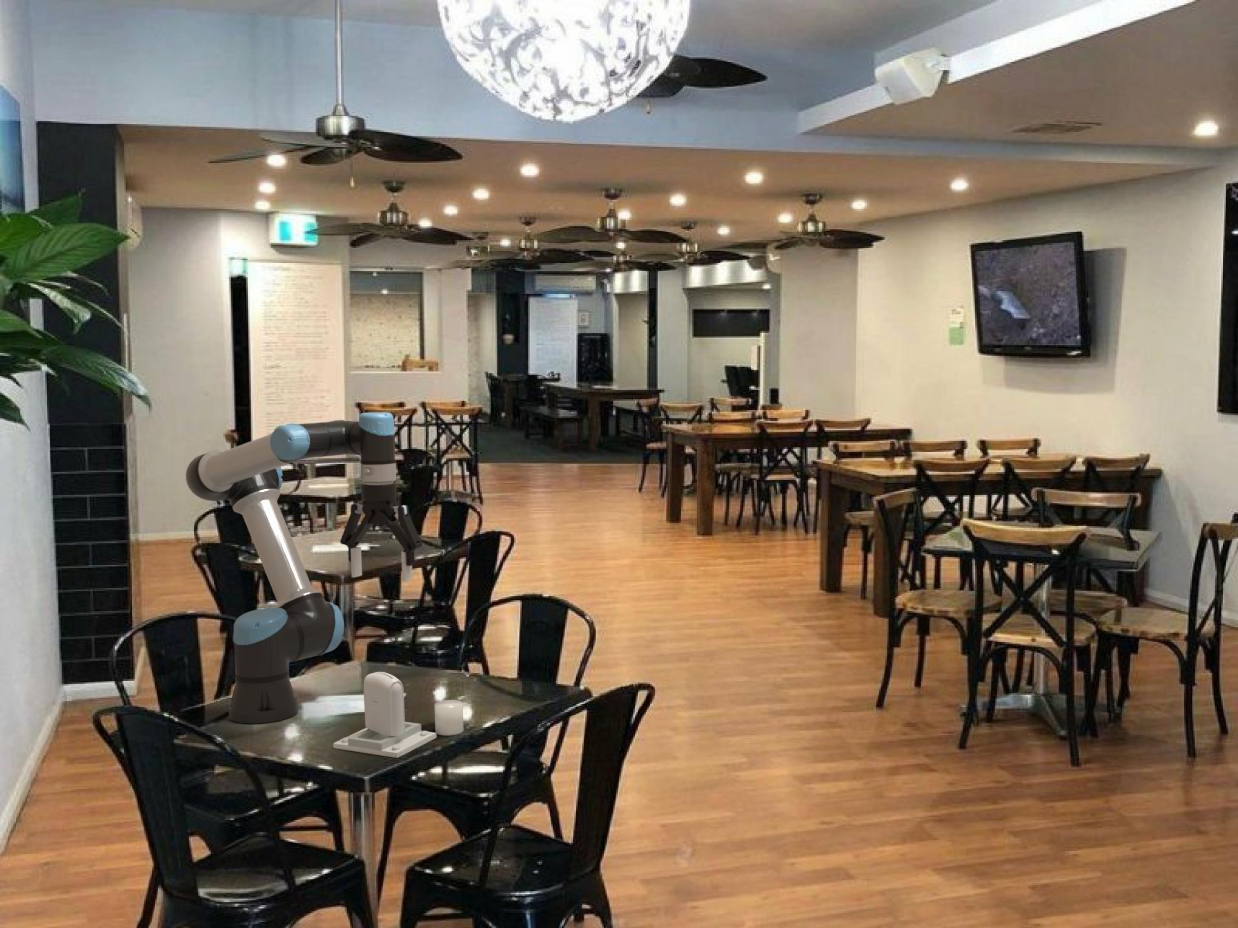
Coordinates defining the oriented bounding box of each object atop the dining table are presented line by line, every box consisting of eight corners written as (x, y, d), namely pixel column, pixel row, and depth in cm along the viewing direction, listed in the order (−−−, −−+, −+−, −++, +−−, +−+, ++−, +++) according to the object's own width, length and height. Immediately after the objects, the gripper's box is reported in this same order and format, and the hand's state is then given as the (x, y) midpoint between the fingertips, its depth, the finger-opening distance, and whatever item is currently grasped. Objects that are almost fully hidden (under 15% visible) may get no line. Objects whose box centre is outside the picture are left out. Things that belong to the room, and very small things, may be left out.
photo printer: (361, 728, 251) (360, 671, 250) (378, 723, 254) (377, 666, 253) (391, 738, 244) (389, 679, 243) (408, 733, 247) (406, 675, 246)
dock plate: (333, 747, 247) (332, 736, 246) (374, 728, 259) (374, 717, 259) (397, 757, 240) (396, 745, 240) (436, 737, 252) (436, 725, 252)
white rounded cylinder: (429, 733, 256) (429, 705, 255) (445, 725, 261) (444, 698, 260) (453, 736, 253) (452, 709, 252) (468, 728, 258) (468, 701, 258)
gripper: (322, 482, 264) (325, 577, 265) (416, 486, 253) (419, 585, 255) (343, 479, 270) (346, 571, 272) (436, 482, 260) (438, 578, 262)
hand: (381, 578), depth 264 cm, fingers open, 13 cm apart
